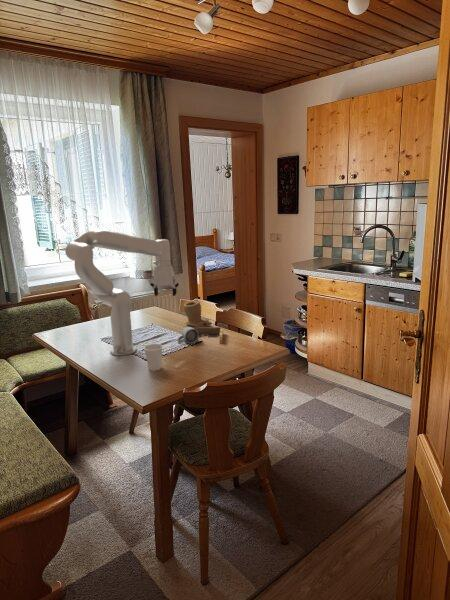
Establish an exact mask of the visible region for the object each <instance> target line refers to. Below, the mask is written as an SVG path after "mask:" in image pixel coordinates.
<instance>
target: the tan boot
mask: <svg viewBox="0 0 450 600" xmlns="http://www.w3.org/2000/svg"><path fill="white" fill-rule="evenodd" d="M183 310H184V312H185V315H186V317H187V320H188V321H186V322H185V325H186V326H188V327H192V328H203V327H211V325H212V324H213V323H212V322H211V321H206V320H203V319H202V306H201V303H200V301H198V300H196V301H195V300H194V301H192V300H191V301H188V302H186V303H184V305H183Z"/></svg>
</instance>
